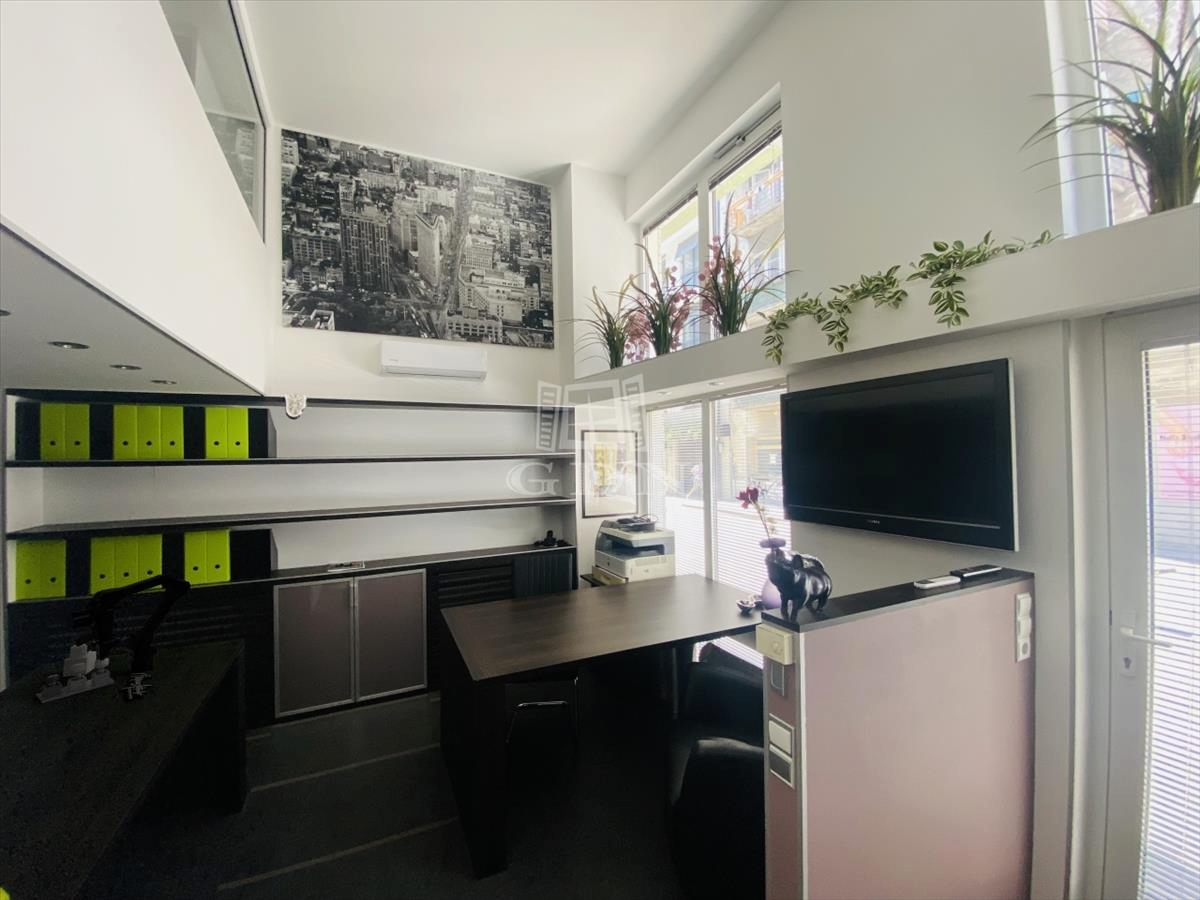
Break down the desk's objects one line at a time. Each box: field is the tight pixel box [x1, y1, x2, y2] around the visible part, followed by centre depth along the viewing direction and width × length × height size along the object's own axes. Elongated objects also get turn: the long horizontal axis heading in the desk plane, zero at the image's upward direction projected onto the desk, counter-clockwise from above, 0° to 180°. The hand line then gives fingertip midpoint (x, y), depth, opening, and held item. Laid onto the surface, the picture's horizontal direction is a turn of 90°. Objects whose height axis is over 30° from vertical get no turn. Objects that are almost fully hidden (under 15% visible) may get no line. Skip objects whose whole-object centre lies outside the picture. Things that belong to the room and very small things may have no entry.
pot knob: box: [45, 673, 60, 687], centre depth 177 cm, size 3×3×4 cm
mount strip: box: [36, 668, 115, 704], centre depth 182 cm, size 19×9×4 cm, turn 149°
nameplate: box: [118, 672, 154, 703], centre depth 185 cm, size 28×2×10 cm
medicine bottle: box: [62, 641, 97, 678], centre depth 196 cm, size 7×7×12 cm
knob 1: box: [70, 663, 86, 681], centre depth 182 cm, size 4×4×6 cm
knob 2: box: [94, 657, 110, 674], centre depth 188 cm, size 4×4×6 cm
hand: (101, 660), depth 188 cm, fingers closed, pressing on knob 2
